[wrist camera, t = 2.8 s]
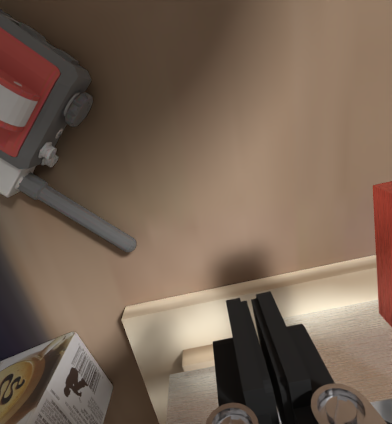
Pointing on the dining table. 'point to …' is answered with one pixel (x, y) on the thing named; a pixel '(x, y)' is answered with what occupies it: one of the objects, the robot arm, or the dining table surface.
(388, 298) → the lever
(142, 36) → the dining table surface
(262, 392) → the robot arm
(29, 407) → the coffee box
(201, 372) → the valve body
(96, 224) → the walkie-talkie
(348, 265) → the valve board
